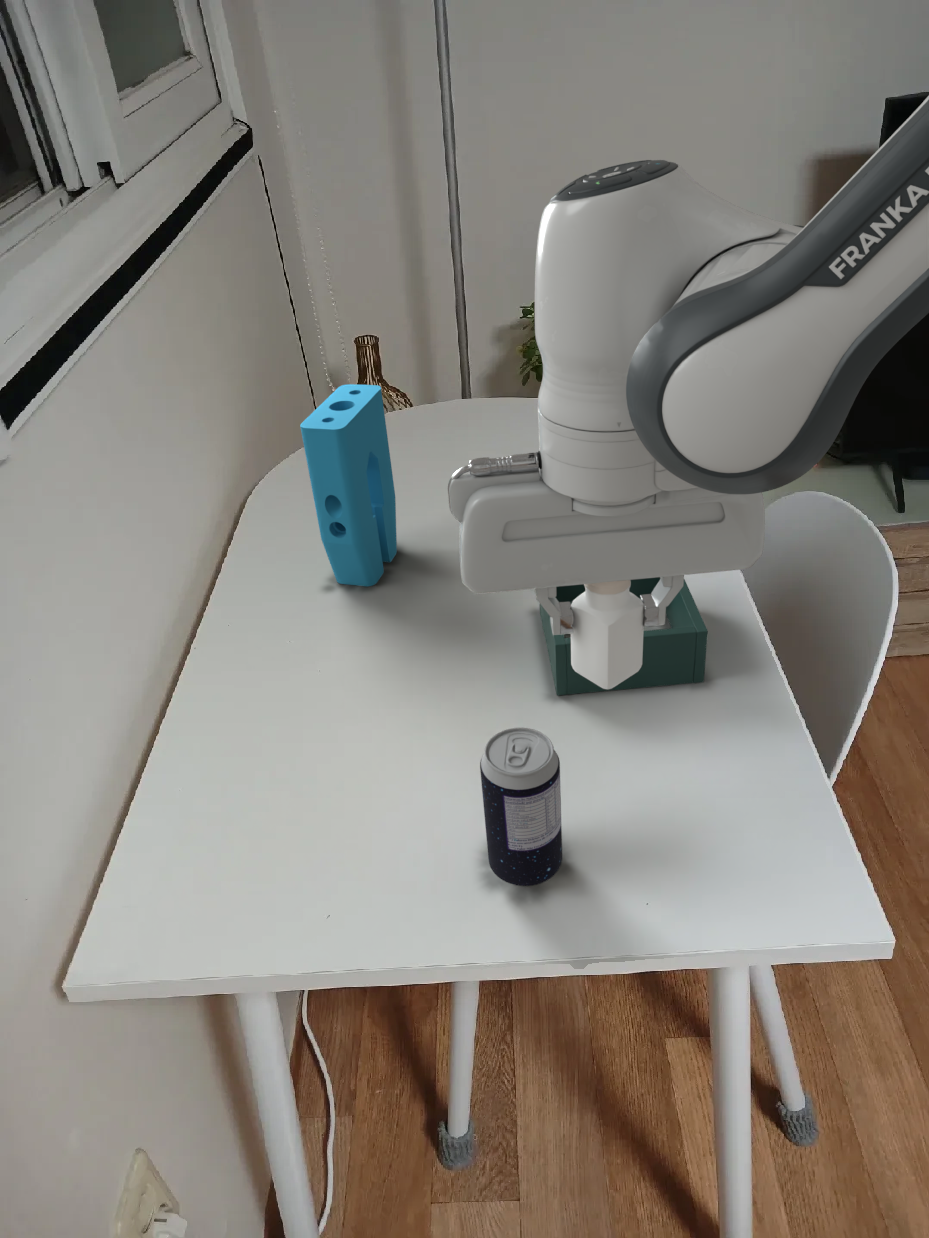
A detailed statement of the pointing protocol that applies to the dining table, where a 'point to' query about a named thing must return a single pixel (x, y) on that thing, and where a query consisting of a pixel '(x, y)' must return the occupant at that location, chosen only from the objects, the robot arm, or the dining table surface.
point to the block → (352, 482)
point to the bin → (664, 650)
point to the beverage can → (522, 806)
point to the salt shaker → (607, 633)
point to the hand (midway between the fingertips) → (607, 625)
